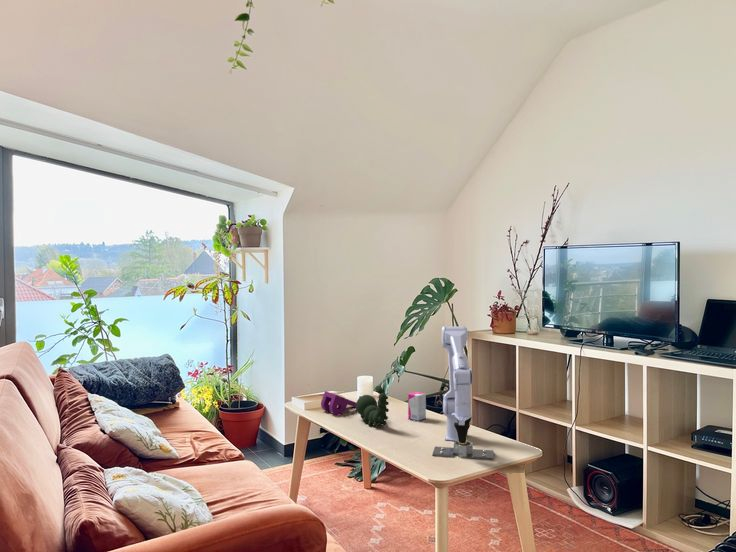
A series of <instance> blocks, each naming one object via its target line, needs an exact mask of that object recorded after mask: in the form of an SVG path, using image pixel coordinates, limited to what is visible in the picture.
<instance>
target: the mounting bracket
mask: <svg viewBox="0 0 736 552" xmlns="http://www.w3.org/2000/svg"><path fill="white" fill-rule="evenodd" d="M356 403H357V401H356V402H355V401H353V400H352V399H348V398H346V397H343V396H340V395H338V394H335V393H332V392H328V391H324V394H323V395H322V399H321V401H320V405H321V409H322V410H323V411H324V412H327V413H331V415H335V416H339V415H338V414H341V415H343V414H344V413H345V412H346V409H347V406H350V407H353V408H356Z"/></svg>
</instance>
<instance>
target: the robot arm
mask: <svg viewBox="0 0 736 552" xmlns="http://www.w3.org/2000/svg"><path fill="white" fill-rule="evenodd" d="M440 333H441V345H442V348H444V349H446V351H447V352H446V353H447V358H448V377H449V378H448V379H449V380H448V381H449V390H448V391H447V392H445V394H444V395H443V396H442V397H443V399H442V411H443V414H444V415H445V416H446V435H445V441H451V442H453V441H458V439H459V443H465V442H466V437H467V438H468V432H469V429H470V427H471V424H470V423H471V421H472V418H473V416H472V385H473V381H474V379H473V377H474V376H473V375H474V374H473V371H472V368H471V366H470V365H469V359H468V355H466V354H464V348H466V347H465V346H466V345H467V342H468V341H467V340H468V336H469V335H468V328H467V326H465V325H463V326H446V325H443V326H442V328H441V332H440Z"/></svg>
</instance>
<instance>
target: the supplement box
mask: <svg viewBox="0 0 736 552" xmlns="http://www.w3.org/2000/svg"><path fill="white" fill-rule="evenodd" d="M407 396H408V397H407V398H408V399H407V403H408V404H407V406H408V407H407V408H408V409H407V416H408V417H407V418H408V420H409V419H410V421H413V420H415V421H414V422H417V421H419V422H422V421H424V420H423V419H425V420H426V419H427V416H426V415H427V412H426V411H427V405H426V404H427V399H426V398H427V397H426V393H424V392H419V391H414V392H411V393H408V394H407ZM421 420H422V421H421Z"/></svg>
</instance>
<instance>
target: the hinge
mask: <svg viewBox="0 0 736 552" xmlns="http://www.w3.org/2000/svg"><path fill="white" fill-rule="evenodd" d="M473 446H474V443H473V442H472V441H470V440H467V446H462V445H458V441H454V442H453V447H451V446H450V447H448V446H447V447H446V446H434V449H433V451H432V457H442V458H454V456H456V457H457V456H458V458H470V457H471V459H474V460H483V461H484V460H486V461H494V456H493V455H494V452H495V451H494V450H493V449H476V448H473Z"/></svg>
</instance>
